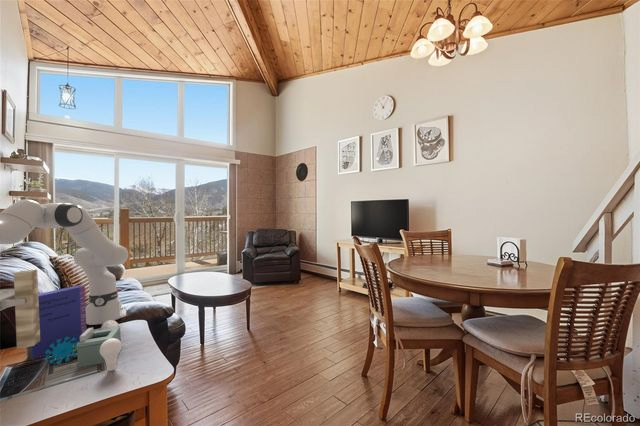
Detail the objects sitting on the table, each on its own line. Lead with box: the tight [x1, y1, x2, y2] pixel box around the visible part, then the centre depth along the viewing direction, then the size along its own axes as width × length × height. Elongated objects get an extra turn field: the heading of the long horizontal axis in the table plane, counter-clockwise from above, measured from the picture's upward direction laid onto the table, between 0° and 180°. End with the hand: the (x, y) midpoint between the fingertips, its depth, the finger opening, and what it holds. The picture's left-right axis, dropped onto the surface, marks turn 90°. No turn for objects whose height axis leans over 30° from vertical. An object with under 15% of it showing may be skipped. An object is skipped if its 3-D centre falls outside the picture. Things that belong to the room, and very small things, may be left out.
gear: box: [44, 337, 80, 365], centre depth 107 cm, size 11×6×10 cm
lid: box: [76, 326, 121, 348], centre depth 107 cm, size 12×10×3 cm
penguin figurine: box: [99, 320, 119, 330], centre depth 119 cm, size 6×8×12 cm
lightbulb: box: [100, 338, 122, 372], centre depth 96 cm, size 6×6×11 cm
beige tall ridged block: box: [13, 269, 40, 349], centre depth 91 cm, size 4×4×24 cm
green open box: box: [76, 330, 122, 369], centre depth 107 cm, size 12×10×7 cm
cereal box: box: [26, 284, 88, 361], centre depth 115 cm, size 17×5×24 cm, turn 154°
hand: (30, 298), depth 92 cm, fingers closed on beige tall ridged block, 4 cm apart
